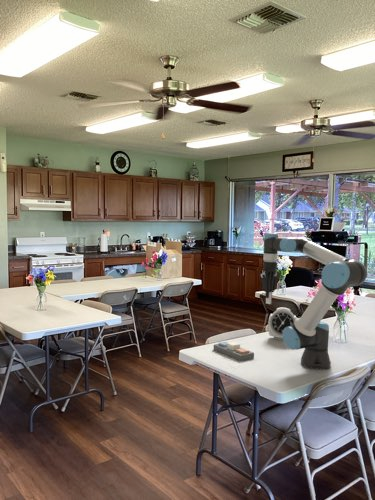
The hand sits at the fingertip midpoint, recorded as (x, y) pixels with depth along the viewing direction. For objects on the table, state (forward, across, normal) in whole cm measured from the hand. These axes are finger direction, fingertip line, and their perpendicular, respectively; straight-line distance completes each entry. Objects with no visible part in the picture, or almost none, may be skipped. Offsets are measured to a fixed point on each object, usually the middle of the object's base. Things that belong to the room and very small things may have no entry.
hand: (268, 303), depth 238 cm
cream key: (+27, +14, -12) cm, 32 cm away
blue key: (+28, +14, -20) cm, 37 cm away
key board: (+29, +14, -12) cm, 35 cm away
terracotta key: (+28, +14, -5) cm, 32 cm away
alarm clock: (+30, -34, -20) cm, 49 cm away
